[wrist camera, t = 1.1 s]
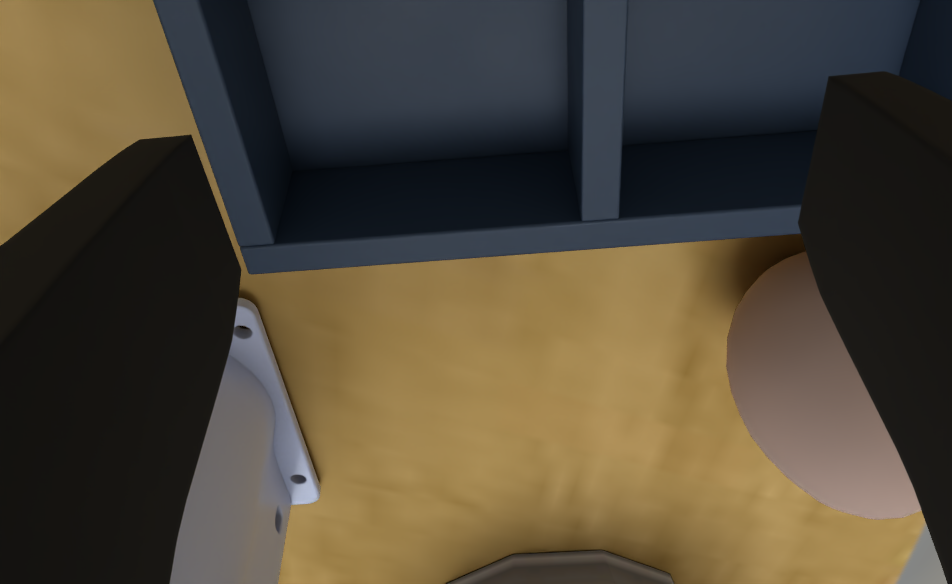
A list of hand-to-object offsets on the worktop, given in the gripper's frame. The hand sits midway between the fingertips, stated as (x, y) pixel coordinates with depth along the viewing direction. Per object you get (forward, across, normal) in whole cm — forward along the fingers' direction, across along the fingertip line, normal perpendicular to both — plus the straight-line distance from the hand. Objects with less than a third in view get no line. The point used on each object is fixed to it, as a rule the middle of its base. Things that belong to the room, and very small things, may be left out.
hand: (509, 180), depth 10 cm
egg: (+9, -8, +10) cm, 16 cm away
